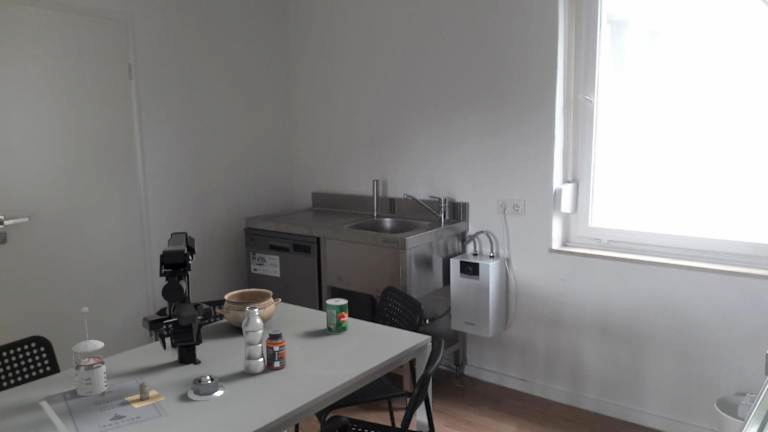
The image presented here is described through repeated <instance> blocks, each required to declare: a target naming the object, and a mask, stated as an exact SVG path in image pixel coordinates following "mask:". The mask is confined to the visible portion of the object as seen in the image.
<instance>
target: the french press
mask: <svg viewBox="0 0 768 432" xmlns="http://www.w3.org/2000/svg"><path fill="white" fill-rule="evenodd" d="M89 311H90V310H89V307H87V306H86V307H82V308H81V309H80V312H81V313H84V319H85V322H84V323H85V329H86V340H83V341H81V342H78V343H76V344H75V345H74V346H72V347H71V350H72V351H73V354H72V363H73V367H74V373H75V374H74V377H75V386H76V387H75V388H76V394H77V395H78V396H82V397H88V396H89V397H90V396H95V395H98V394H101V393H103V392H105V391H106V390H107V389H108V381H107V372H106V371H107V369H106V362H105V361H104V356H101V355H90V353H92V352H96V351H99V350H101V349H103V348H104V346H105V343H104V342H103V341H100V340H95V339H89V335H88V323H87V314H86V313H88V312H89ZM75 353H76V354H77V355H78V359H76V361H75V359H74V358H75ZM86 353H87V354H88V355H87V356H83V357H80V355H81V354H86ZM96 365H97V366H96ZM83 379H84V380H83Z"/></svg>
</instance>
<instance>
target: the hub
mask: <svg viewBox="0 0 768 432" xmlns="http://www.w3.org/2000/svg"><path fill="white" fill-rule="evenodd" d="M202 376H203V377H202V379H201V384H205V383H210V382H211V378H210V377H209V376H207V375H206V374H205V375H202ZM225 393H226V386H225V385H224V384H221V383H219V391H218V392H216V393H214V394H212V395H208V396H198V395H195V394H193V387H191V388H190V389H189V390H188V391H187V397H188V398H189V399H190V400H193V401H198V402H199V401H201V402H202V401H209V400H214V399H218V398H219V397H221V396H222V395H224V394H225Z"/></svg>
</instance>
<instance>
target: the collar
mask: <svg viewBox="0 0 768 432" xmlns="http://www.w3.org/2000/svg"><path fill="white" fill-rule="evenodd" d="M203 376H204V375H201V376H198V377H196V378H194V379H193V381H192V382H193V383H192V388H193V394H195V395H198V396H208V395H212V394H214V393H216V392H218V391H219V384H220V382H219V381H220V379H219V376H216V375H213V374H211V375H210V374H209V375H207V376H209V377H210V378H211V382H210V383H205V384H201V379H202V377H203Z"/></svg>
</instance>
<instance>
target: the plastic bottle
mask: <svg viewBox="0 0 768 432" xmlns="http://www.w3.org/2000/svg"><path fill="white" fill-rule="evenodd" d="M258 314H259V312H258V307H248V308H246V315H247V317H246V318H245V320H244V321H243V324H242V328H241V329H242V335H243V341H244V359H243V368H244V370H245V372H246V373H247V374H249V375H255V374H256V375H257V374H259V373H260V374H261V373H262V372H264V370H265V368H266V359H265V354H264V347H263V337H264V336H263V335H264V324H263V322H262V320H261V319H260V317H259V316H258Z"/></svg>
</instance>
